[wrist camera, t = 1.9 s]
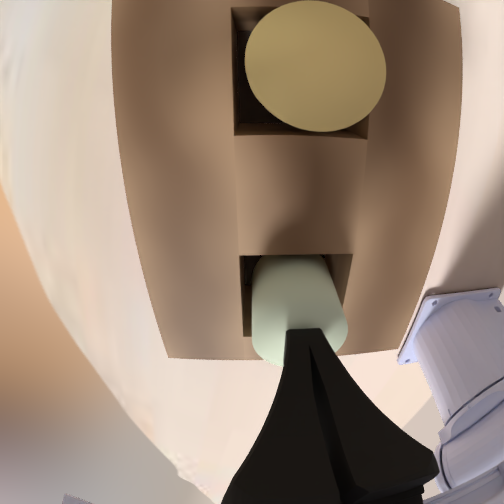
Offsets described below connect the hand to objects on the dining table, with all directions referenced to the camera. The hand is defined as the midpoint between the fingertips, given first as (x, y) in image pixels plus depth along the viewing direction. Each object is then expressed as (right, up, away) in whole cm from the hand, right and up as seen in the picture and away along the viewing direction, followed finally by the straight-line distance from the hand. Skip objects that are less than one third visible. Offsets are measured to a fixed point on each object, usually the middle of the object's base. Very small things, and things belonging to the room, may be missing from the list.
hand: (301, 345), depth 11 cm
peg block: (0, +8, +4) cm, 9 cm away
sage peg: (0, +2, +4) cm, 5 cm away
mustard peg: (0, +11, -1) cm, 11 cm away
